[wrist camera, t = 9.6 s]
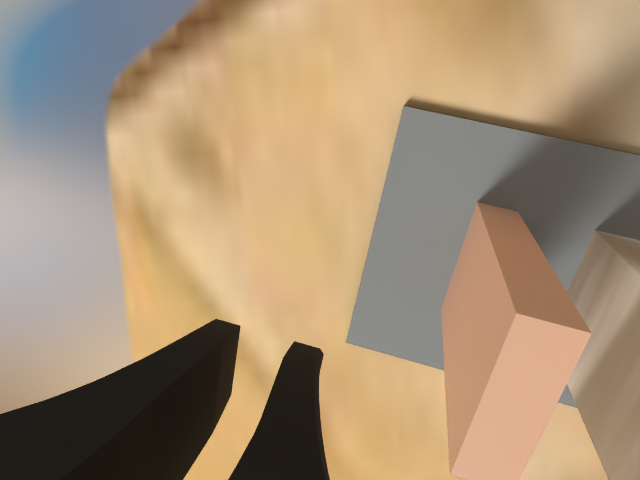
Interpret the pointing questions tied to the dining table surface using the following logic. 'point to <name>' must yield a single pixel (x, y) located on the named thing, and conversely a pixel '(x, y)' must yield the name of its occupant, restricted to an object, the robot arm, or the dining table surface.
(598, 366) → the wooden block
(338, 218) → the dining table surface
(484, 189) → the slate runway mat
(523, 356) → the terracotta domino
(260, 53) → the dining table surface
